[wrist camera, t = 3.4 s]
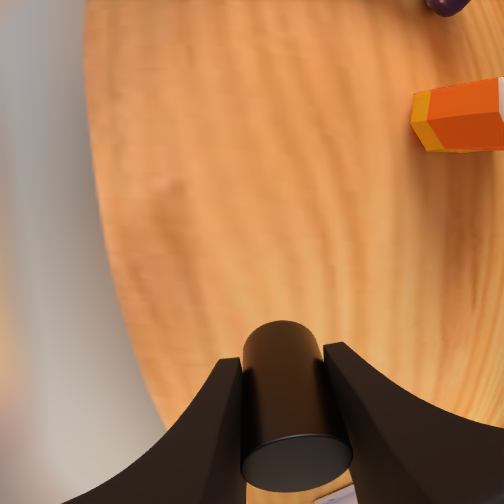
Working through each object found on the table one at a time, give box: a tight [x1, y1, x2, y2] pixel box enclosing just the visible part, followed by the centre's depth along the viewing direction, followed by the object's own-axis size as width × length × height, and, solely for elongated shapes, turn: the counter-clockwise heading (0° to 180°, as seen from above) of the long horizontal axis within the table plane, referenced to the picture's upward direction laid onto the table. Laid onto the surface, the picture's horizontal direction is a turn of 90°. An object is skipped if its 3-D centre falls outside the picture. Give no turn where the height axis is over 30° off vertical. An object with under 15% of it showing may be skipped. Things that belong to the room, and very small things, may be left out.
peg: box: [240, 320, 354, 493], centre depth 8 cm, size 3×3×5 cm
